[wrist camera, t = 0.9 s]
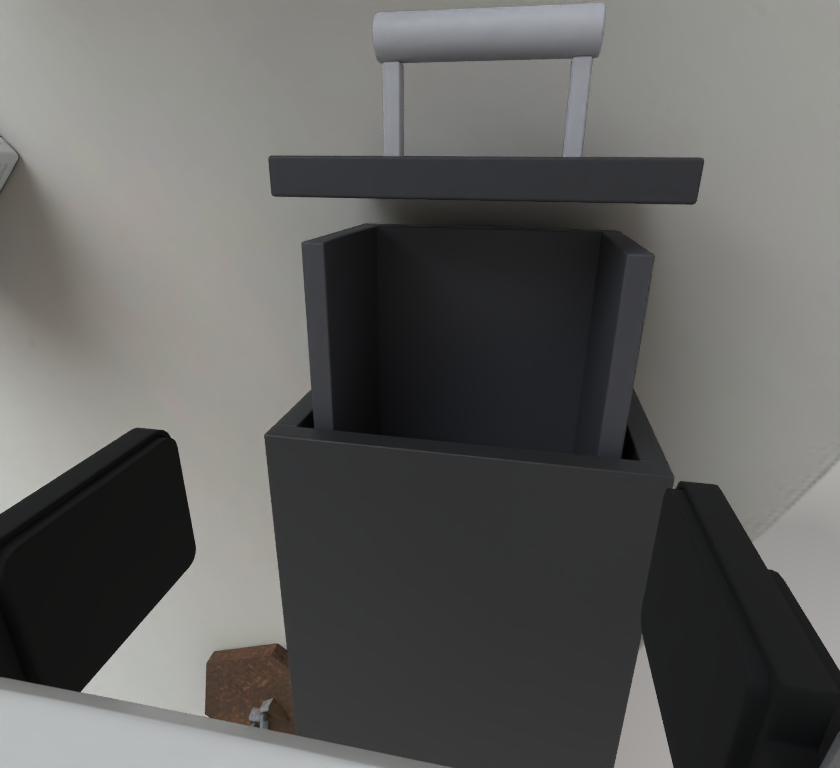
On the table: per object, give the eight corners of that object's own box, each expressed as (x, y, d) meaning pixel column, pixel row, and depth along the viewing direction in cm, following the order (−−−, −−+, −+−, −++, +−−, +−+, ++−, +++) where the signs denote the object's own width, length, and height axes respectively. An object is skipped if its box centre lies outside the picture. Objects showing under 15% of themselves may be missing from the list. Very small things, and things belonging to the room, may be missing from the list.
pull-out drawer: (343, 48, 22) (252, -12, 15) (667, 38, 20) (742, -39, 13) (358, 452, 29) (300, 544, 22) (600, 478, 27) (624, 589, 20)
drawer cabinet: (349, 351, 28) (263, 434, 19) (626, 371, 26) (675, 477, 17) (359, 590, 34) (296, 740, 25) (585, 625, 31) (606, 804, 23)
